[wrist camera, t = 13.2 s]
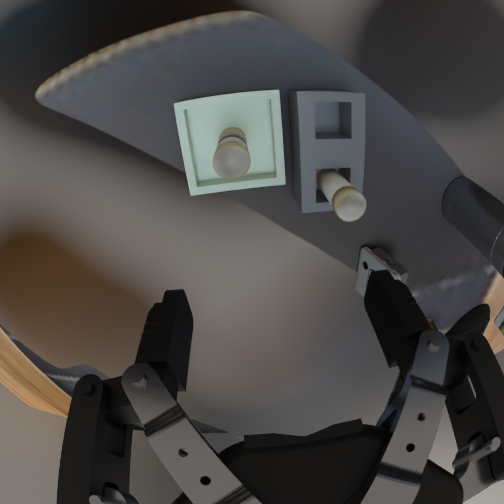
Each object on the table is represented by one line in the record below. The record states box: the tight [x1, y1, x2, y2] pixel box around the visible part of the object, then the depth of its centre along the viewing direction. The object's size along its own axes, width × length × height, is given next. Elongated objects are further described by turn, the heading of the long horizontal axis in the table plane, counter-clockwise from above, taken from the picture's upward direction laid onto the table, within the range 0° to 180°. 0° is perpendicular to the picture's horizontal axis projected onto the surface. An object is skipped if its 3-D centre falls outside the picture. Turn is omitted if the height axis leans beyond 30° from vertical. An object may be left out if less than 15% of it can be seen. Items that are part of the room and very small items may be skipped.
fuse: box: [316, 168, 366, 222], centre depth 30 cm, size 3×3×10 cm
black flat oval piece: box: [445, 304, 490, 340], centre depth 68 cm, size 25×41×5 cm, turn 8°
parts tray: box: [174, 90, 285, 196], centre depth 31 cm, size 12×12×2 cm
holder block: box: [288, 90, 366, 213], centre depth 31 cm, size 8×15×5 cm, turn 5°
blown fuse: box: [213, 127, 251, 180], centre depth 27 cm, size 3×3×10 cm
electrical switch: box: [355, 247, 409, 297], centre depth 42 cm, size 9×5×9 cm, turn 6°
